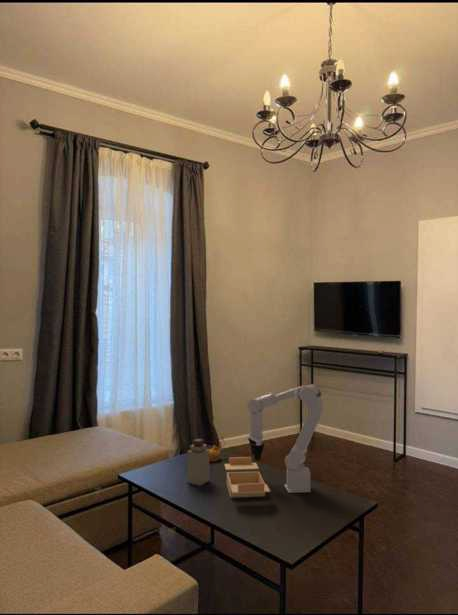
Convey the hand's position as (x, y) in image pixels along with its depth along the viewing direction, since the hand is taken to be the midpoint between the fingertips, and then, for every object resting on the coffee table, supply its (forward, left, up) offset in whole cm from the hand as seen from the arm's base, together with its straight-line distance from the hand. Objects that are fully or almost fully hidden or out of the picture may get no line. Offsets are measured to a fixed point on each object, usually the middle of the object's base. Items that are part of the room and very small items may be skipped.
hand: (255, 457), depth 191 cm
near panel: (+6, +22, -5) cm, 23 cm away
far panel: (+6, -3, -5) cm, 9 cm away
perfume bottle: (+25, -2, -11) cm, 27 cm away
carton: (+6, +9, -10) cm, 15 cm away
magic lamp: (+18, -30, -11) cm, 37 cm away
